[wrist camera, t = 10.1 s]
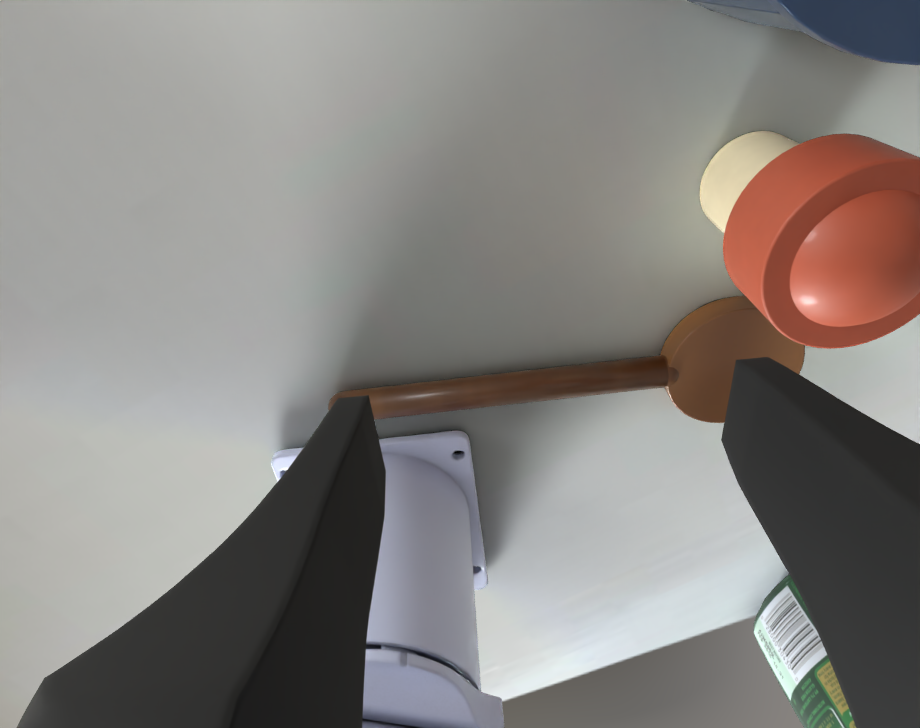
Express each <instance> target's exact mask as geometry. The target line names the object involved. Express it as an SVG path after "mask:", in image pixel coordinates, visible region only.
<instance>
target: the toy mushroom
mask: <svg viewBox="0 0 920 728" xmlns="http://www.w3.org/2000/svg"><path fill="white" fill-rule="evenodd" d="M700 202H701V206H702V209H703V211H704V213H705V215H706V216H707V218H708V219H709V220H710V221H711V222H712V223H713V224H714V225H715V226H717V227H718V228H719V229H720V230H721V231H722V232H723V233H724V240H723V255H724V261H725V265H726V269H727V271H728V274H729V276H730V278H731V280H732V281H733V283H734V284H735V285H736V287H737V288H738V289H739V290H740V291H741V292H742V293H743V294H744V295H745V296H746V297H747V298H748V299H749V300H750V301H751V302H752V304H753V305H754V306H755V307H756V308H757V309H758V310H759V311H760V312H761V313H762V314H763V315H764V316H765V317H766V318H767V319H768V320H769V322H770V323H771V324H772V325H773V326H774V327H775V328H776V329H777V330H778V331H779V332H780V333H782V334H783V335H784V336H786V337H787V338H789V339H791V340H793V341H795V342H797V343H800V344H803V345H806V346H811V347H817V348H844V347H850V346H855V345H859V344H863V343H867V342H869V341H872V340H875V339H878V338H880V337H882V336H884V335H886V334H889V333H891V332H893V331H894V330H896V329H898V328H900V327H901V326H903V325H905V324H906V323H908V322H909V321H910V320H912V319H913V318H915V317H916V316H917V315H919V314H920V158H919V157H917V156H914V155H912V154H909V153H907V152H904V151H902V150H899V149H897V148H894V147H892V146H889V145H887V144H884V143H882V142H879V141H877V140H874V139H872V138H869V137H865V136H861V135H855V134H833V135H828V136H822V137H818V138H815V139H812V140H809V141H806V142H803V143H801V144H799V143H797V142H795V141H793V140H791V139H789V138H787V137H785V136H783V135H780V134H778V133H775V132H771V131H756V132H751V133H748V134H744V135H742V136H740V137H738V138H736V139H734V140H732V141H730V142H729V143H728V144H726V145H725V146H724V147H723V148H721V149H720V150H719V151H718V152H717V153H716V155H715V156H714V157H713V158H712V160H711V161H710V162H709V164H708V166H707V168H706V169H705V172H704V174H703V177H702V180H701V185H700Z"/></svg>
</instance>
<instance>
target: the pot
mask: <svg viewBox="0 0 920 728" xmlns="http://www.w3.org/2000/svg"><path fill="white" fill-rule="evenodd" d="M687 1H689V2H692V3H695V4H697V5H700V6H702V7H704V8H707V9H709V10H711V11H715V12H719V13H723V14H725V15H728V16H731V17H734V18H737V19H739V20H742V21H746V22H751V23H756V24H762V25H767V26H773V27H778V28H783V29H789V30H794V31H799V32H803V31H802V30H800V29H799V28H797V27H796V26H795V25H793V24H792V23H790V22H789V21H788V20H786V19H785V18H784V17H783V16H782V15H781V14H780V13H779V12H778V11H777V10H776V9H775V8H774V7H773V6H772V5H771V4H770V3H769V2H768V1H767V0H687Z"/></svg>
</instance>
